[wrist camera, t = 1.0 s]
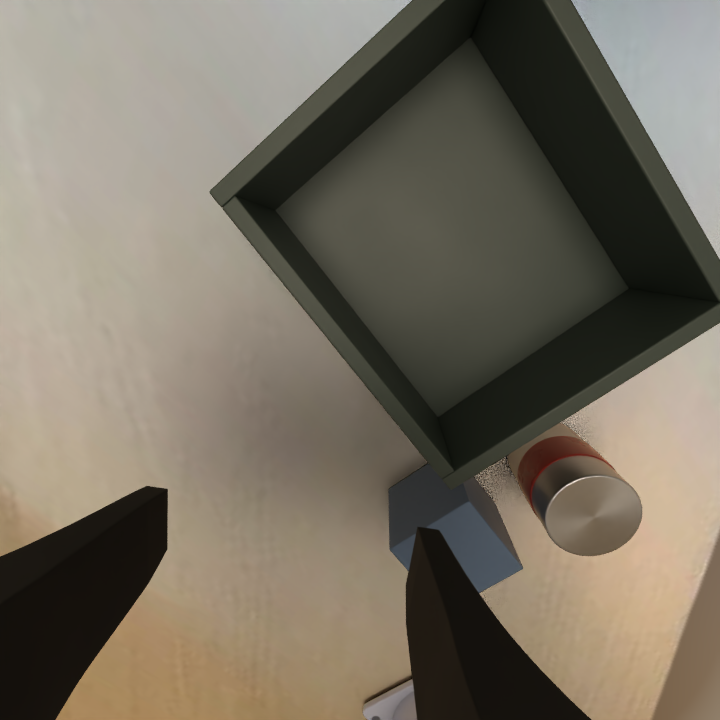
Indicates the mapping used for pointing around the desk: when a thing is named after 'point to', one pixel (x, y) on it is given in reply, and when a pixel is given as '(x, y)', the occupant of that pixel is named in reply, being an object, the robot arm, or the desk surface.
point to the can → (576, 493)
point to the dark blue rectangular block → (452, 525)
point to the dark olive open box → (479, 226)
